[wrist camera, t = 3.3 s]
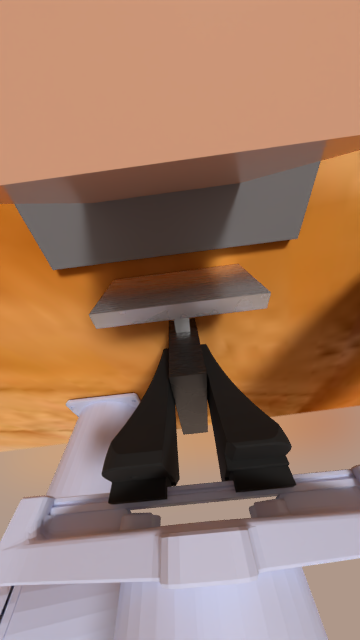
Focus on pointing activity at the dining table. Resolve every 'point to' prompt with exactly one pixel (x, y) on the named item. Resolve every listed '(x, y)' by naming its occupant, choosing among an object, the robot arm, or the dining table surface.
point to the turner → (182, 322)
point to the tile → (171, 94)
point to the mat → (172, 220)
